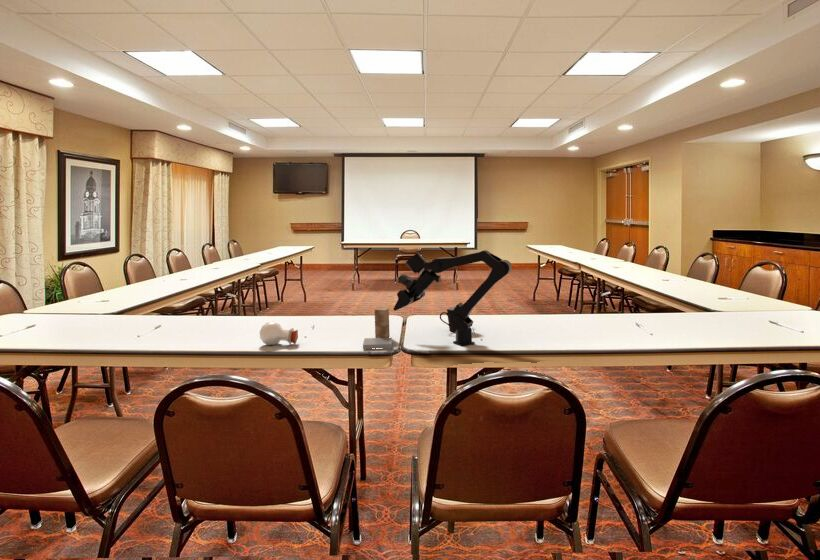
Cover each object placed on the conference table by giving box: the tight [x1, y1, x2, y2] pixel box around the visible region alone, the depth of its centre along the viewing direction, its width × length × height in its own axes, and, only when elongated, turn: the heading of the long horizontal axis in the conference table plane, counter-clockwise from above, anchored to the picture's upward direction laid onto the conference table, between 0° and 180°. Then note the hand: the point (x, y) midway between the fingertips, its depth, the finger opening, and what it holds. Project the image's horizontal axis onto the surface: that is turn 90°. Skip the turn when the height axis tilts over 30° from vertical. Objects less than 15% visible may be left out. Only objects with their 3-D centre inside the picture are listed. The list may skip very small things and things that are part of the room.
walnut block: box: [374, 307, 391, 338], centre depth 221 cm, size 4×4×12 cm
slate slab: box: [362, 337, 393, 350], centre depth 208 cm, size 11×11×2 cm
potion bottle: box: [259, 321, 299, 346], centre depth 214 cm, size 9×10×15 cm
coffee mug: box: [439, 306, 456, 333], centre depth 232 cm, size 12×9×10 cm
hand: (398, 308), depth 217 cm, fingers open, 9 cm apart
